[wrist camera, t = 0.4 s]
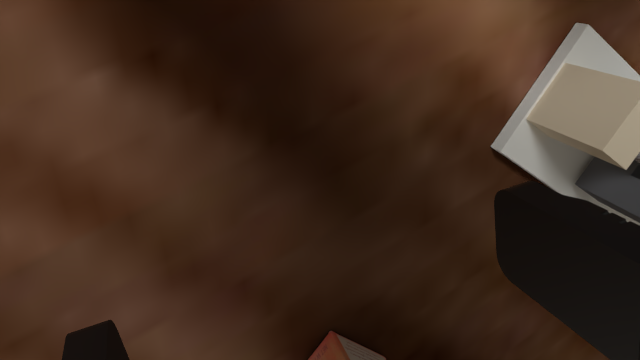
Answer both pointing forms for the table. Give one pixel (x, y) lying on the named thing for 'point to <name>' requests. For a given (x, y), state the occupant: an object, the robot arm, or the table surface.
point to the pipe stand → (576, 115)
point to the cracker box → (342, 350)
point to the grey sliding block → (613, 186)
